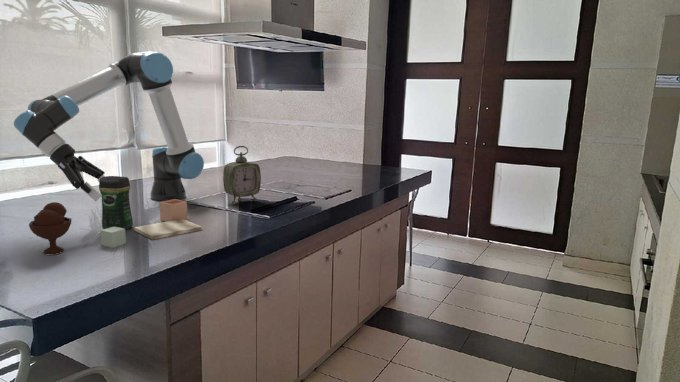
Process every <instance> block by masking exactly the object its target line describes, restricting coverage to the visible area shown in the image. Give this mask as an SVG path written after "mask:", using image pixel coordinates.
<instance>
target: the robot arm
mask: <svg viewBox="0 0 680 382" xmlns="http://www.w3.org/2000/svg"><path fill="white" fill-rule="evenodd" d="M173 67H174V66H173V64H172V61H171V59H170V58H169V57H167V55H165V54H164V53H162V52H159V51H143V52H141V51H140V52H133V53H130V54H128V55H126V56H124V57H122V58H120V59H118V60H115V61H114V62H112V63H110V64H109V65H108V68H106V69H103V70H101V71H100V72H97V73H95V74H93V75H90V76H89V77H86V78H85V79H82V80H80V81H78V82H76V83H74V84H72V85H70V86H67V87H65V88H64V89H63V88H62V89H61V90H58V91H56V92H55V93H52V94H51V95H49V96H46V97H44V98H41V99H35V100H32V101H31V102H29V104H28V107H27V110H26V111H23V112H22V113H20V114H19V115H18V116H16V118H15V119H14V120H13V126H14V128H15V129H16V130H17V131H18V132H19V133H20V134H21V135H22V136H24V137H25V138H26V139H27V140H28V141H29V142H31V143H32V144H33V145H34V146H35V147H36V148H37V149H38V150H39V151H41V154H42V155H45V156H46V157H47V158H49V160H51V161H52V162H53V163H54V164H55V165H56V166H57V168H59V169H60V170H61V172H62V173H63V174H64V175H65V177H66V178H67V179H68V181H69V183H70V184H71V185H72V187H74V188H75V189H77V190H79V189H81V190H82V191H83V192H85V194H87V196H88V197H90V198H91V199H92V200H93V201H94V202H97V201H99V199H100V198H102V197H101V196H102V195H101V193H100V191H98V190H97V189H96V188H95V187H93V186H92V185H91V184H90V183H89V182H88V181H85V179H84V177H83V175H82V174H81V173H85V174H87V175H89V176H91V177H92V178H95V179H96V180H97V181H98V183H99V181H100V178H102V177H106V176H105V175H104V174H105V173H106V171H104V170H102V169H101V168H99V167H97V166H96V165H94V164H93V163H91V162H90V161H88V160H86V159H85V158H84V157H83V156H82V155H79V156H78V157H77V156H75V154H76V150H75V148H73V147H72V146H71V145H70V144H68V143H67V142H66V140H65V139H64V138H63V137H61V136H60V135H59V134H58V133H57V132H55V131H56V130H57V129H59V128H60V127H61V126H63V125H64V124H65V123H67V122H68V121H71V120H72V119H73V118H75V116H77V115H78V114H79V113H80V108H79V106H82V105H83V104H85V103H87V102H89V101H91V100H93V99H95V98H97V97H99V96H102V95H103V94H105V93H107V92H110V91H111V90H113V89H115V88H118V87H119V86H120V87H125V86H128V85H130V84H135V83H140V86H141V88H142V90H143V91H144V92H146V93H147V94H148V95H149V99H150V101H151V104H152V107H153V110H154V113H155V116H156V118H157V121H158V123H159V127H160V129H161V131H162V135H163V138H164V140H165V143H166V146H164V147H155V148H153V149H152V156H151V157H152V171H153V184H152V187H151V191H150V199H151V200H155V201H168V200H173V199H177V200H182V199H184V198H186V197H187V193H186V189H185V186H184V183H183V182H182V181H183V180H182V179H184V180H193V179H196V178H197V177H199V176H200V175H201V174H202V171H203V170H204V166H205V162H204V158H203V156H202V155H201V154H199V152H196V150H195V146H194V144H193V143H191V142H189V140H188V138H187V134H186V131H185V128H184V125H183V123H182V120H181V117H180V113H179V111H178V107H177V103H176V102H175V99H174V98H175V97H174V95H173V93H172V90H171V86H172V84H173V81H172V77H173V74H174V68H173Z"/></svg>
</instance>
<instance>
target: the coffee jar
mask: <svg viewBox="0 0 680 382" xmlns="http://www.w3.org/2000/svg"><path fill="white" fill-rule="evenodd" d="M98 189H99V193H100V194H101V195H102V196H101V197H100V198H101V226H102V230H103V229H107V228H110V227H119V228H124V229H125V230H128V229H130V228H132V227H133V226H134V223H133V215H132V208H131V202H130V190H131V184H130V179H129V178H128V176H117V175H108V176H105V177H102V178H100V181H99V182H98Z"/></svg>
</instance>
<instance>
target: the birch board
mask: <svg viewBox="0 0 680 382" xmlns="http://www.w3.org/2000/svg"><path fill="white" fill-rule="evenodd" d="M133 229H134V231H135V232H136V233H138V234H140V235H142V236H144V237H146V238H148V239H150V240H151V241H152V240H157V239H162V238H168V237H172V236H177V235H182V234H183V235H184V234H187V233H193V232H197V231H203V228H202V226H201V225H198V224H196V223H194V222H192V221H189V220H185V219H178V220H173V221H167V222H166V221H162V222H157V223H150V224H145V225H140V226H134V227H133Z"/></svg>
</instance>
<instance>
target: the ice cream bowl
mask: <svg viewBox="0 0 680 382" xmlns="http://www.w3.org/2000/svg"><path fill="white" fill-rule="evenodd" d="M67 212H68V211H67V208H66V207H65V206H64V205H63V204H62V203H60V202H55V201H54V202H53V201H52V202H49V203H47V204H45V206H44V207H43V209H41V210H39V212H38V213H37V214H36V215H34V216H33V220H32V221H30V222H29V223H28V227H29V229H30V231H31V232H32V233H33V234H34V235H36V236H37V237H39V238H41V239H43V240H48V242H49V247H47V248H46V249H44V250H43V253H45V254H54V255H57V254H56V253H59V254H61V253H60V252H62V253H64V252H65V249H64V247H60V246H57V239H59V238H61V237H63V236H64V235H66V233H68V231H69V229H70V228H71V224H72V218H71V217H67V216H66V214H67ZM63 251H64V252H63ZM43 253H42V254H43ZM45 254H44V255H45Z"/></svg>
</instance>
